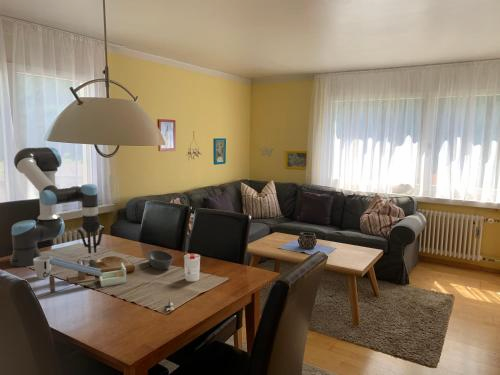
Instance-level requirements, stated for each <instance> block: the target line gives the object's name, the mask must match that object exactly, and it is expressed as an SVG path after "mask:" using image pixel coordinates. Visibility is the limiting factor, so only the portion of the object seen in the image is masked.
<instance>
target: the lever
mask: <svg viewBox="0 0 500 375" xmlns="http://www.w3.org/2000/svg"><path fill="white" fill-rule="evenodd" d="M78 260H79V264H78V263H77V262H74V261H70V260H65V259H62V258H57V257H54V256H51V258H50V261H49V264H51V266H56V267H60V268H65V269H68V270H73V271H77V272H78V271H80V272H84V273H88V274H92V275H94V276H97V277H99V276H100V277H101V275H102V273H103V272H101V271H102V269H100V268H96V266H97V265H98V262H97V259H96V258H95V260H91V258H90V259H89V260H88V259H85V258H81V257H79V258H78ZM83 260H84V263H88V265H89V266H88V265H83V264H82V263H83Z"/></svg>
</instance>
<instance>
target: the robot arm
mask: <svg viewBox="0 0 500 375" xmlns="http://www.w3.org/2000/svg"><path fill="white" fill-rule="evenodd" d="M13 164H14V167H15V168H16V170H17V171H18V172H19V173H21V174H23V175H24V176H25V177H26V178H27V179H28V180H29V182H30V183H31V184H32V185H33V187H34V188H35V189H36V190H37V191H38V195H39V196H38V197H39V215H38V216H37V221H36V220H34V219H28V220H26V219H25V220H21V221H18V222H16V223H14V224H13V225H12V226H11V239H12V240H11V241H12V254H11V256H10V266H11V267H15V268H16V267H17V268H19V267H20V268H23V267H28V266H34V262H33V259H34V258H36V257H40V256H42V255H41V252H40V250H39V248H38V243H39V242H40V243H41V242H44V241H48V240H54V239H57V238H60V237H62V236H63V234H64V232H65V226H66V225H65V222H64V219H63V218H62V217H61V216H60V214H58V212H57V211H58V210H57V205H63V204H68V203H69V204H70V203H75V202H79V203H81V211H82V212H81V213H82V224H81V227H79V228H78V229H77V232H78V233H79V235H80V237H81V240H82V243H83V246H84V247H85V248H87V250H88V251H87V252H88V254H90V259H91V260H95V259H96V258H95V253H97V247H98V246H100V245H101V241H102V237H103V232H104V230H105V229H106V228H105V226H104V225H101V224H100V222H99V221H100V217H99V200H98V199H99V197H98V194H99V193H98V186H97V185H96V184H93V183H88V184H82V185H81V186H77V185H75V186H74V185H73V186H70V187H66V188H65V187H63V188H58V187H57V186H56V173H57V172H58V168H60V167H61V166H62V156H61V153H60V152H59V150H58V149H56V148H55V147H50V146H49V147H48V146H47V147H45V146H44V147H25V148H22V149H20V150H19V151H17V153H16V154H15V156H14V159H13ZM98 229H99V232H98V238H97V236H96V235H97V234H96V232H97V231H98ZM84 231H85V232H86V234H87V235H86V236H87V241H86V239H85V236H84V233H83V232H84ZM91 233H92V242H91Z"/></svg>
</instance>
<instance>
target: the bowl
mask: <svg viewBox="0 0 500 375" xmlns="http://www.w3.org/2000/svg"><path fill="white" fill-rule="evenodd" d="M145 255H146V258H147V261H148V262H149V264H150V266H151V267H152V268H154V269H157V270H161V271H166V270H168V269H169V268H170V267H171V265H172V263H173V260H174V255H172V254H171V253H170V252H168V251H164V250H160V249H151V250H148V251H147V252H146V253H145Z"/></svg>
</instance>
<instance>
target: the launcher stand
mask: <svg viewBox="0 0 500 375" xmlns="http://www.w3.org/2000/svg"><path fill="white" fill-rule="evenodd" d="M76 263H77V264H80V261H79V259H78V260H77V262H76ZM82 264H83V265H85V264H86V262H84V260H83V261H82ZM85 266H86V265H85ZM95 276H96V275H94V276H86V275H85V273H84V272H80V271H77V274H72V275H67V278H68V285H74V284H82V283H87V282H92V281H96V277H95ZM48 278H49V293H51V294H53V293H55V292H56V281H55V275H50V276H49V277H48Z"/></svg>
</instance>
